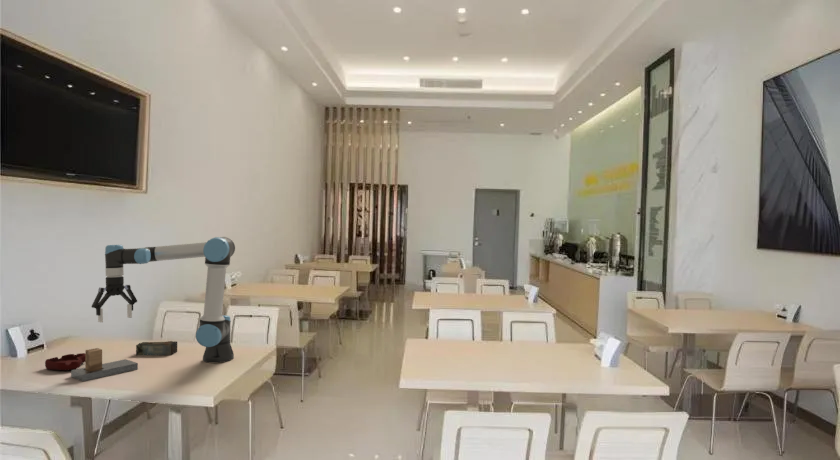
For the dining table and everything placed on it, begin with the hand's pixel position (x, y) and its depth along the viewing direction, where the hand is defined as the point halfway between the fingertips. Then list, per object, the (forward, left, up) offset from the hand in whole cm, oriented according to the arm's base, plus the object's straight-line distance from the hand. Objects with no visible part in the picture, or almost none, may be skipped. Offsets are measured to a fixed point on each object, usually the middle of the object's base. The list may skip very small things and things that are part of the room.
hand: (115, 319), depth 245 cm
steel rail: (-4, +6, -24) cm, 25 cm away
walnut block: (-4, +11, -24) cm, 27 cm away
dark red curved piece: (+21, +14, -24) cm, 35 cm away
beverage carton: (+12, -27, -25) cm, 38 cm away
